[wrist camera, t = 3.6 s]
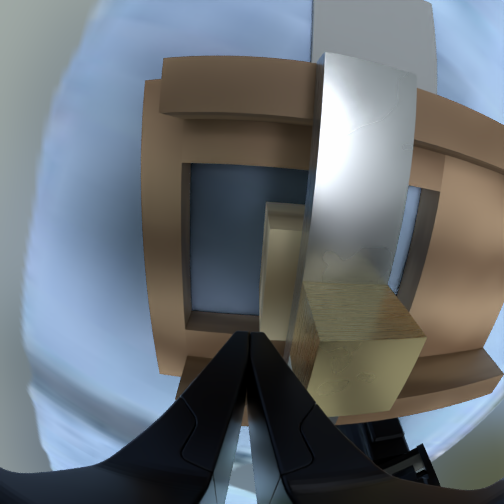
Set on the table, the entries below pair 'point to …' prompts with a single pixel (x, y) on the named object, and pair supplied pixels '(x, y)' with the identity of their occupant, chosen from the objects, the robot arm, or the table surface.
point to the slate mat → (379, 34)
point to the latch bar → (354, 240)
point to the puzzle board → (298, 157)
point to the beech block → (279, 266)
